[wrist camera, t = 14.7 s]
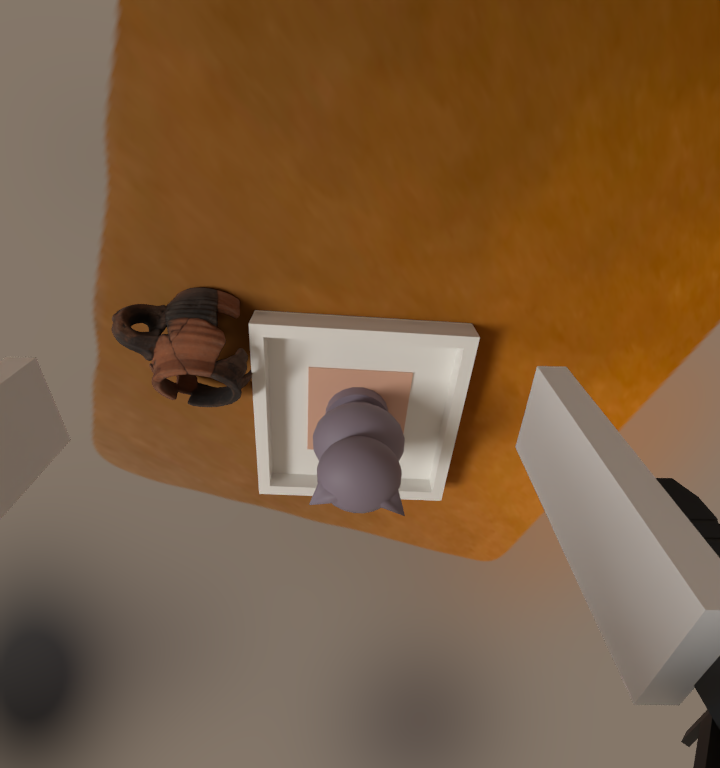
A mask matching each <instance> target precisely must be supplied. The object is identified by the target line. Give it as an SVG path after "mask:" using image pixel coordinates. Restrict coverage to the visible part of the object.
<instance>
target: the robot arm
mask: <svg viewBox="0 0 720 768" xmlns="http://www.w3.org/2000/svg"><path fill="white" fill-rule="evenodd" d="M70 440H71V439H70V437H69V435H68V432H67V430H66V428H65V425H64V423H63V420H62V418H61V416H60V414H59V411H58V409H57V406H56V404H55V402H54V399H53V397H52V394H51V393H50V390H49V387H48V385H47V383H46V380H45V378H44V375H43V373H42V371H41V368H40V366H39V364H38V361H37V359H36V357H5V358H4V359H3V360H1V361H0V519H1V518H2V517H3V516H4V515H5V513H6V512H7V511H8V510H9V509H10V508H11V507H12V506H13V504H14V503H15V502H16V501H17V500H18V499H19V498H20V496H21V495H22V494H23V493H24V492H25V491H26V490H27V489H28V488H29V486H30V485H31V484H32V483H33V482H34V481H35V480H36V479H37V477H38V476H39V475H40V474H41V473H42V472H43V470H44V469H45V468H46V467H47V466H48V465H49V464H50V463H51V462H52V460H53V459H54V458H55V457H56V456H57V455H58V454H59V453H60V451H61V450H62V449H63V448H64V447H65V446H66V444H68V442H69V441H70ZM516 449H517V451H518V454H519V456H520V458H521V460H522V462H523V464H524V467H525V469H526V471H527V473H528V475H529V478H530V480H531V482H532V484H533V486H534V488H535V491H536V493H537V495H538V497H539V499H540V501H541V504H542V506H543V508H544V510H545V512H546V515H547V517H548V519H549V521H550V523H551V525H552V528H553V530H554V532H555V534H556V536H557V539H558V541H559V543H560V545H561V547H562V549H563V552H564V554H565V556H566V558H567V560H568V562H569V565H570V567H571V569H572V571H573V573H574V576H575V577H576V580H577V582H578V584H579V586H580V589H581V591H582V593H583V595H584V597H585V599H586V602H587V603H588V606H589V608H590V610H591V613H592V615H593V617H594V619H595V621H596V623H597V625H598V628H599V630H600V632H601V634H602V637H603V639H604V641H605V643H606V645H607V647H608V649H609V652H610V654H611V656H612V658H613V660H614V663H615V665H616V667H617V669H618V671H619V673H620V676H621V678H622V680H623V682H624V684H625V687H626V689H627V691H628V693H629V695H630V697H631V700H632V702H633V704H634V705H680V703H682V701H683V700H684V699H685V698H686V697H687V696H688V695H689V693H690V692H691V691H692V690H693V689H694V688H696V690H697V692H698V694H699V695H700V697H701V699H702V701H703V702H704V704H705V705H706V707H707V709H708V710H707V711H706V712H705V713H704V714H703V715H702V716H701V717H700V718H699V719H698V720H697V721H696V722H695V723H694V724H693V725H692V726H691V727H690V728H689V729H688V730H687V732H686V734H685V736H684V738H683V740H682V741H681V742H683V743H684V744H686V745H687V746H688V747H689V746H691V744H692V743H693V742H695V741H696V740H697V739H698V742H697V748H696V755H695V761H694V767H693V768H720V524H719V523H718V521H717V518H716V517H715V516H714V514H713V513H712V512H711V511H710V510H709V509H708V508H707V506H706V505H705V504H704V503H703V502H702V501H701V500H700V499H699V497H697V496H696V495H695V494H693V493H692V492H690V491H689V490H688V489H686V488H685V487H683V486H682V485H681V484H679V483H678V482H677V481H675V480H674V479H672V478H655V477H654V476H653V474H652V473H651V472H650V471H649V470H648V468H647V467H646V466H645V464H644V463H643V462H642V461H641V459H640V458H639V457H638V456H637V454H636V453H635V452H634V451H633V449H632V448H631V447H630V446H629V445H628V443H627V442H626V441H625V439H624V438H623V437H622V436H621V435H620V433H619V432H618V431H617V430H616V428H615V427H614V426H613V425H612V423H611V422H610V421H609V420H608V418H607V417H606V416H605V415H604V413H603V412H602V411H601V410H600V408H599V407H598V406H597V405H596V403H595V402H594V401H593V400H592V398H591V397H590V396H589V395H588V393H587V392H586V391H585V390H584V388H583V387H582V386H581V385H580V383H579V382H578V381H577V380H576V378H575V377H574V376H573V375H572V373H571V372H570V371H569V370H568V368H567V367H549V366H537V369H536V373H535V376H534V380H533V384H532V388H531V391H530V395H529V399H528V403H527V406H526V410H525V414H524V418H523V421H522V425H521V429H520V433H519V436H518V440H517V444H516Z"/></svg>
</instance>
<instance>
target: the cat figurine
mask: <svg viewBox="0 0 720 768" xmlns="http://www.w3.org/2000/svg"><path fill="white" fill-rule="evenodd" d="M404 443H405V438H404V435H403V432H402V429H401V426H400V424H399V423H398V422H397V420H396V419H395V418H394V417H393V416H392V415H391V414H390V413H389V412H388V408H387V405H386V402H385V401H384V399H383V398H382V397H381V396H380V395H379V394H377V393H376V392H374V391H373V390H370V389H367V388H363V387H352V388H348V389H344V390H342V391H340V392H338V393H337V394H335V395H334V396H333V397H332V398H331V399H330V401H329V402H328V405H327V407H326V413H325V415H324V416H323V417H322V418H321V419H320V420H319V422H318V423H317V426H316V428H315V431H314V433H313V450H314V452H315V454H316V456H317V458H318V460H319V463H318V466H317V482H318V484H317V487H316V489H315V492H314V494H313V497H312V499H311V501H310V504H309V505H314V504H326V503H332V504H333V505H334V506H336V507H338V508H340V509H342V510H345V511H349V512H353V513H366V512H372V511H375V510H377V509H379V508H384V509H387V510H390V511H392V512H395V513H398V514H401V515H403V516H405V515H404V511H403V507H402V503H401V498H400V494H399V488H400V485H401V476H402V470H401V466H400V464H399V460H400V458H401V457H402V455H403V452H404Z"/></svg>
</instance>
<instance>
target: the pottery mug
mask: <svg viewBox="0 0 720 768" xmlns="http://www.w3.org/2000/svg"><path fill="white" fill-rule="evenodd" d="M217 312H220V313H224V314H227V315H229V316H231V317H233V318H238V317H239V315H240V301H239V299H238V298H236V297H234V296H233V295H230V294H228V293H226V292H222V291H218V290H215V289H209V288H205V287H202V288H189V289H187V290H184V291H182V292H180V293H179V294H177V296H176V297H175V298H174V299H173V300H172V301H171V302H170V303H169V304H168V305H167V306H165V305H161V306H153V305H147V304H136V305H131V306H127V307H124V308H122V309H121V310H119V311H118V312H117V313H116V314H114V315H113V317H112V321H113V326H112V333H113V335H114V337H115V338H116V340H117V341H118V342H119V343H120V344H122V345H123V346H125V347H126V348H128V349H130V350H133V351H135V352H137V353H139V354H141V355H142V356H143V357H144V358H145V359H146V360H148V361H151V360H152V364H150V368H151V370H152V372H153V373H154V375H153V377H152V385H153V387H154V388H155V390H156V391H158V392H159V393H160V394H161V395H163V396H165V397H167V398H169V399H171V400H174V399H176V398H177V393H178V392H180V393H183V394H189V395H191V397H190V398H189V401H188V404H190V405H193V406H199V407H219V406H224V405H228V404H232V403H233V402H235V401H237V400H238V399H239V398H240V397H241V388H243V387H244V386H245V385H246V384H247V383H248V382H249V381H250V379H251V378H252V374H253V373H252V372H251V370H250V371H249V372H248V373H247V374H245V373H246V370H247V364H246V362H247V360H248V355H247V354H246V352H245V351H244V349H242V348H239V349H238V350H237V352H236V353H235V355H232V356H230V357H229V358H226V359H223V360H219V361H216V360H217V358H218V357H219V354H220V352H221V350H222V348H223V346H224V345H225V343H226V340H225V335H224V333H223V332H222V331H221V330H220V329H219V328H217V325H218V322H217ZM137 323H144V324H146V325H148V327H149V332H138V331H135V330H133V329H132V328H131V326H132V325H134V324H137ZM166 327H167V329H168V334H162V335H161V333H162V332H163V331H164V330H165V328H166ZM244 374H245V375H244ZM196 375H198V376H204V377H210V378H212V379H215V380H217V381H220V382H222V383H224V384H225V385H227V386H226V387H219V388H216V387H211V386H208V385H204V384H201V383H198V382H197V377H196ZM171 376H176V377H177V383H174V382H172V381H170V380H168V379H166V378H168V377H171Z"/></svg>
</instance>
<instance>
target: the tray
mask: <svg viewBox="0 0 720 768" xmlns="http://www.w3.org/2000/svg"><path fill="white" fill-rule="evenodd" d="M248 325H249V340H250V356H251V372H252V373H253V374H252V388H253V404H254V419H255V435H256V451H257V467H258V483H259V494H280V495H306V496H313V494H314V492H315V489H316V487H317V484H318V482H317V466H318V463H319V460H318V458H317V456H316V454H315V452H314V450H313V433H314V431H315V428H316V426H317V423H318V422H319V420H320V419H321V418H322V417H323V416H324V415H325V413H326V407H327V405H328V402H329V401H330V399H331V398H332V397H333V396H334V395H335V394H337V393H338V392H340V391H342V390H344V389H348V388H352V387H363V388H367V389H370V390H373V391H374V392H376V393H377V394H379V395H380V396H381V397H382V398H383V399H384V401H385V402H386V405H387V408H388V412H389V413H390V414H391V415H392V416H393V417H394V418H395V419H396V420H397V422H398V423H399V424H400V426H401V429H402V432H403V435H404V438H405V443H404V452H403V455H402V457H401V458H400V460H399V464H400V466H401V470H402V476H401V485H400V488H399V494H400V498H401V499H410V500H436V501H441V499H442V495H443V491H444V486H445V482H446V478H447V474H448V470H449V465H450V461H451V457H452V453H453V449H454V445H455V440H456V436H457V432H458V428H459V424H460V419H461V415H462V411H463V407H464V403H465V398H466V394H467V390H468V386H469V382H470V377H471V373H472V369H473V365H474V361H475V356H476V352H477V348H478V344H479V340H480V336H479V335H478V333H477V331H476V330H475V328H474V326H473V325H472V323H456V322H440V321H423V320H407V319H391V318H374V317H358V316H342V315H325V314H309V313H293V312H277V311H260V310H255V311H254V313H253V315H252V317H251V319H250V321H249V323H248Z"/></svg>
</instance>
